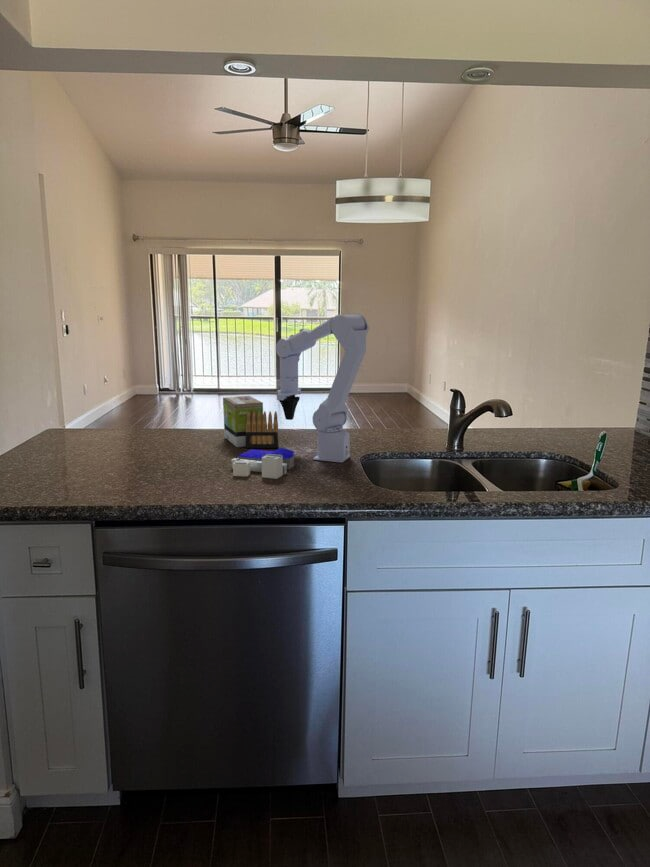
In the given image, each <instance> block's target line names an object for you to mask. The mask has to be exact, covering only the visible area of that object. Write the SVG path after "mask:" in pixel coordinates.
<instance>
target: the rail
mask: <svg viewBox="0 0 650 867" xmlns="http://www.w3.org/2000/svg"><path fill="white" fill-rule="evenodd" d="M235 461H248V462H250V472H251V471H252V472H256V473H257V472H259V473H262V461H258V460H248V459H240V458H238V457H237V458H236V457H234V458H232V459H231V460H230V462H231V469H232V470H233V463H234V462H235ZM287 470H288V469H287V464H285V463H283V475H282V476H285V475H286V474H287V472H288V471H287Z"/></svg>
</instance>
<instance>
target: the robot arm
mask: <svg viewBox="0 0 650 867" xmlns="http://www.w3.org/2000/svg"><path fill="white" fill-rule="evenodd" d="M369 330H370V327H369V324H368V322H367V319H366V317H364V315H362V314H346V315H345V314H344V315H343V314H337V315H335V316H333V317H332V316H331V317H329V319H328V320H326V321H324V322H323V323H321V324H319V325H318V326H316V327H314V328H313V329H308V328H300V329H299V331H298V333H295V334H291V335H289V337H288V338H280V339H279V340H278V341H277V342H276V344H275V352H276V354H277V356H278V357H279V379H280V381H279V384H280V388H279V389H278V390H276V400H277V401H279V403H280V405H281V406H282V410H283V413H284V417H285V420H286V421H287V420H288V421H289V420H290V421H292V420H294V417H295V412H296V409H297V405H298V403H299V402H300V399H301V398H300V396H297V395H301V394H302V388H301V387H299V362H300V356H301V354H302V353H303V352H305V351H307V350H309V349H311V348H313V347H314V346H316V343H317V341H319V340H320V339H323V338H325V337H327V336H330V335H333V336H334V337H335V339H336V340H337V342H338V343H339V344H340V346H341V347H342V348H343V349H344V352H343V356H342V358H341V360H340V364H339V366H338V368H337V372H336V375H335V376H334V379H333V382H332V385H331V387H330V390H329V393H328V395H327V398H326V399H325V400H323V401H322V402H321V403H320V404H319V407H318V409H316V410H315V411H314V412H313V415H312V424H313V427H315V428H316V429H315V431H317V455H315V456H314V457H313V458H312V459H313V460H314V461H323V462H335V463H344V462H345V461H346V460H348V459H350V457H351V454H350V450H351V449H350V448H351V447H350V446H351V444H350V443H351V442H350V441H351V437H350V432H348V431H346V430H343V429H344V425H346V423H347V421H348V420H347V418H348V411H349V407H348V405H347V404H346V402H347V400H348V397H349V394H350V392H351V389H352V387H353V384H354V382H355V380H356V376H357V375H358V371H359V370H360V367H361V364H362V363H363V359H364V357H365V354H366V351H367V336H368V333H369Z"/></svg>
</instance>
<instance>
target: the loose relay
mask: <svg viewBox="0 0 650 867" xmlns="http://www.w3.org/2000/svg"><path fill="white" fill-rule="evenodd" d="M232 474H233V475H232V476H233V477H249V475H250V474H251V471H250V462H248V461H235V462H234V463H233V469H232Z"/></svg>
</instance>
